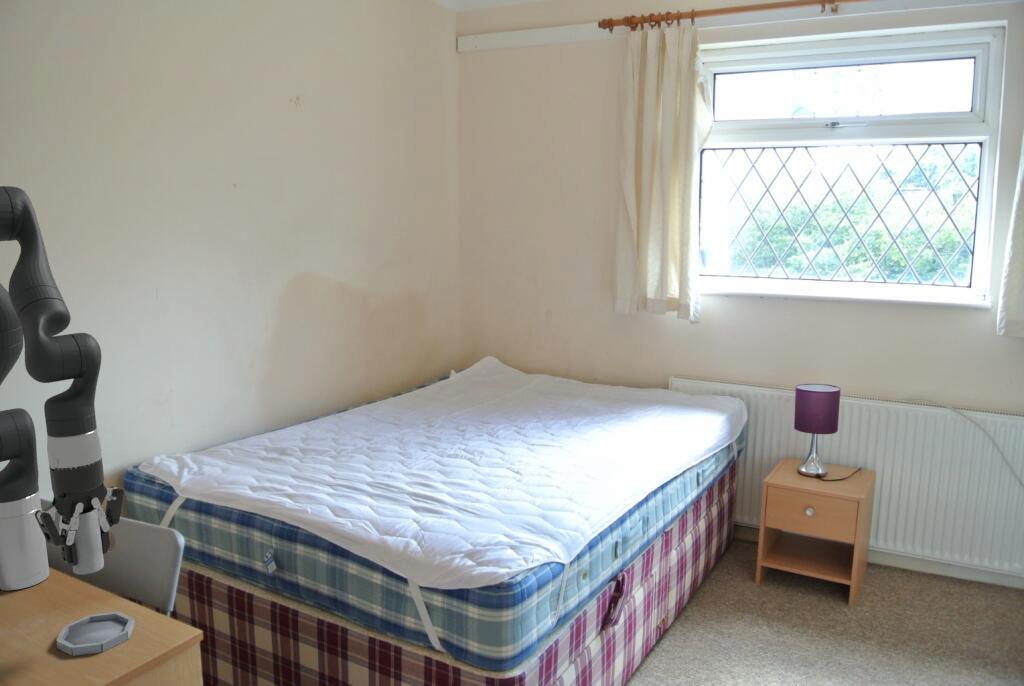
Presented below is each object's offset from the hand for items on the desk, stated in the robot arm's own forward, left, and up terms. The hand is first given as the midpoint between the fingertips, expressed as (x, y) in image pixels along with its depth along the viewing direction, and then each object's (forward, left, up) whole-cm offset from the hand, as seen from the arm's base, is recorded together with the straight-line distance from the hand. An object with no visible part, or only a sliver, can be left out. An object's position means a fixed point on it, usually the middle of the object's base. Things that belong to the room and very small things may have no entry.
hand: (87, 558), depth 136 cm
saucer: (0, 0, -14) cm, 14 cm away
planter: (0, 0, -2) cm, 2 cm away
